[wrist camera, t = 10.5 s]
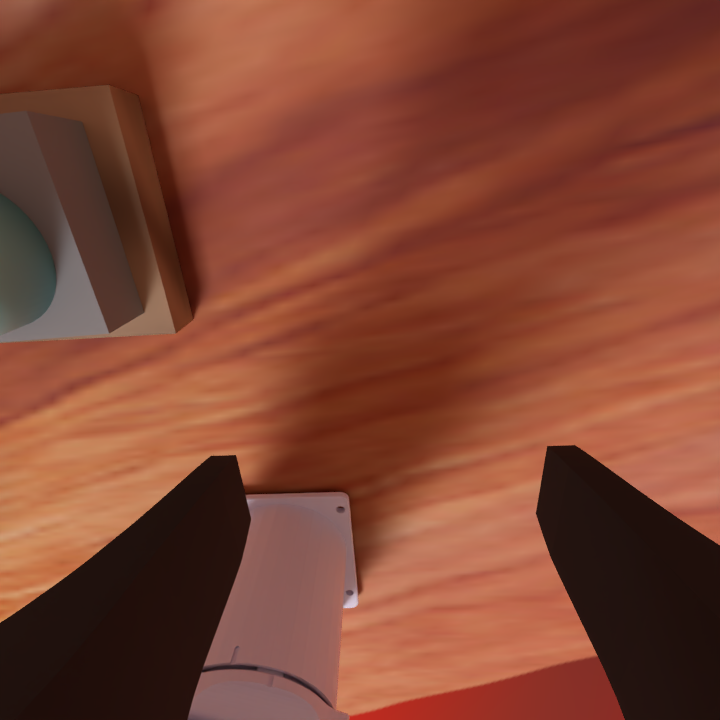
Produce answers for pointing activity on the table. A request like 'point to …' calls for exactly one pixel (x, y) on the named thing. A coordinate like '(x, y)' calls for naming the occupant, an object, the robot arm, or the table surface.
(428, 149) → the table surface
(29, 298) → the teal domed cylinder
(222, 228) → the table surface
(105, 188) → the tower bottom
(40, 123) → the tower top
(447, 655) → the table surface
